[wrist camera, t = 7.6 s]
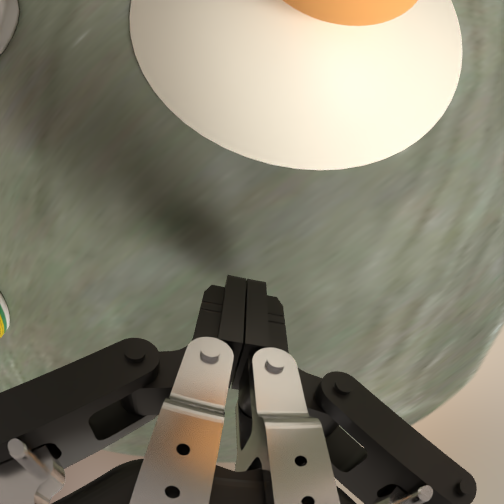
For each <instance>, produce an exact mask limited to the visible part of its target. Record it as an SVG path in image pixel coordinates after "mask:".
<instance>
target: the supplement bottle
mask: <svg viewBox="0 0 504 504" xmlns="http://www.w3.org/2000/svg"><path fill="white" fill-rule="evenodd" d="M9 323H10V316H9V310H8V307H7V304H6V302H5V300H4V298H3V296H2V295H1V293H0V338H1V337H2V335H3V334H4V333H5V332H6V330H7V329H8V327H9Z"/></svg>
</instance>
